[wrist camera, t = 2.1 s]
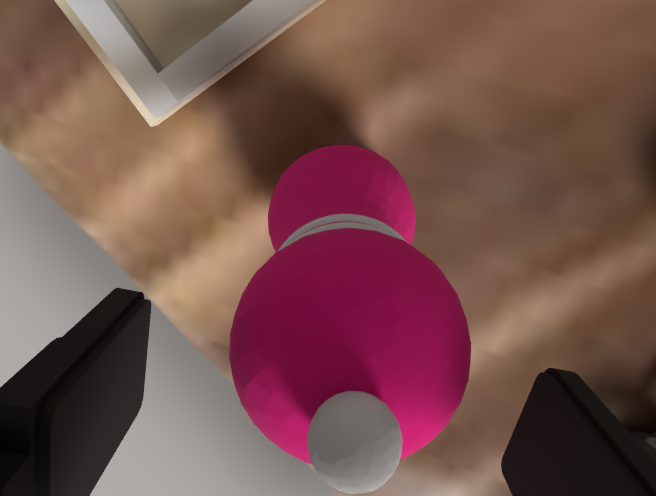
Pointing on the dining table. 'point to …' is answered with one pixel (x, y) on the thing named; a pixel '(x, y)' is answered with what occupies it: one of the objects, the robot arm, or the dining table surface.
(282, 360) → the pepper mill
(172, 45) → the rail board
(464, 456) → the dining table surface
